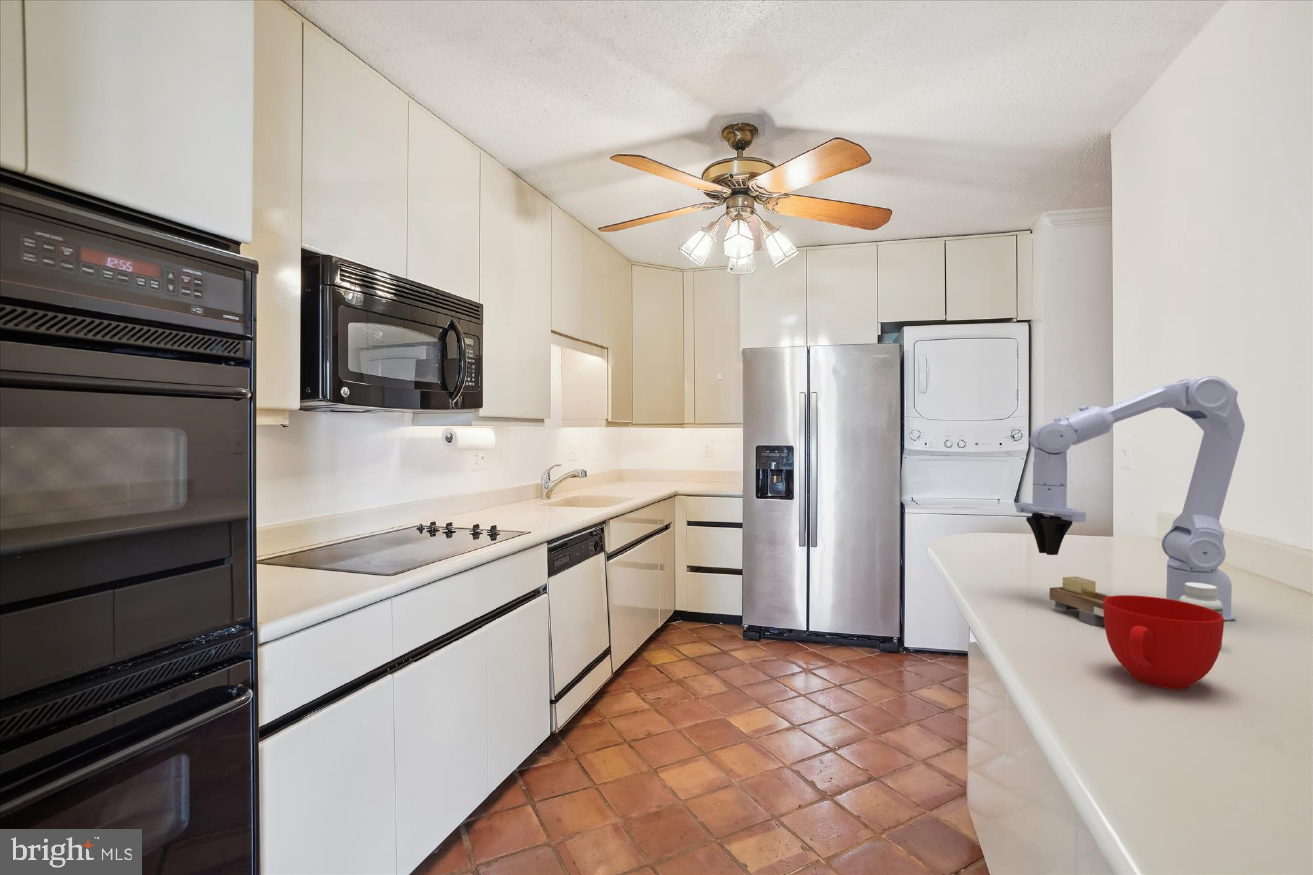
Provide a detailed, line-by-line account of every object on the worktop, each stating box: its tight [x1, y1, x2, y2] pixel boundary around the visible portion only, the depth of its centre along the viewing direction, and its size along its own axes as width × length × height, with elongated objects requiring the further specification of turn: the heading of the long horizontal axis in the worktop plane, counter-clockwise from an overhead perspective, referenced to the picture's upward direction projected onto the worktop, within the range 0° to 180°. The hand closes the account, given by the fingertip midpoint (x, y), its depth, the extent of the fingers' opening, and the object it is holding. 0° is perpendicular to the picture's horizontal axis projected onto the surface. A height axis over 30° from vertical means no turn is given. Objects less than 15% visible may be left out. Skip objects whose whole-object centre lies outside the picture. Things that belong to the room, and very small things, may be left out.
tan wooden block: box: [1062, 576, 1097, 599], centre depth 118 cm, size 3×4×3 cm
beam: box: [1049, 586, 1110, 626], centre depth 113 cm, size 7×17×4 cm, turn 13°
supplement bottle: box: [1179, 582, 1223, 647], centre depth 102 cm, size 5×5×10 cm
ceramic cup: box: [1103, 594, 1225, 690], centre depth 86 cm, size 13×17×10 cm
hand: (1048, 553), depth 125 cm, fingers closed
